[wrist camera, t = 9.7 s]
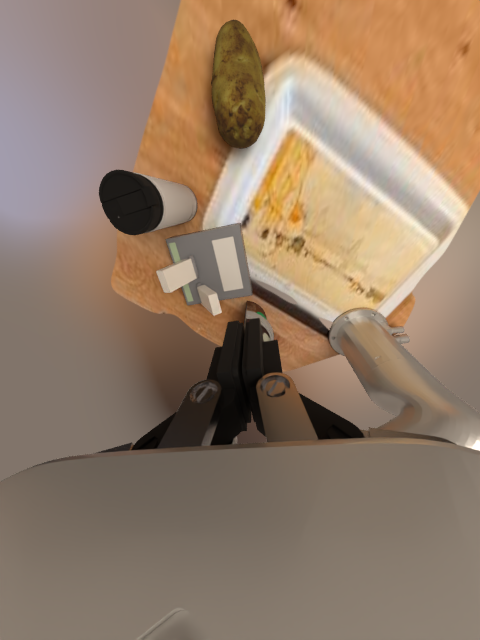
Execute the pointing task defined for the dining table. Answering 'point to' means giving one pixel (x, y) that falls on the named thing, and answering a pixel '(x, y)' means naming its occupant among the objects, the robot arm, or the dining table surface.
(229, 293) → the panel
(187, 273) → the paddle on
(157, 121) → the dining table surface
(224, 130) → the potato
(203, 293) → the paddle
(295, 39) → the dining table surface
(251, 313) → the food container
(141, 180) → the travel mug
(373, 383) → the robot arm
